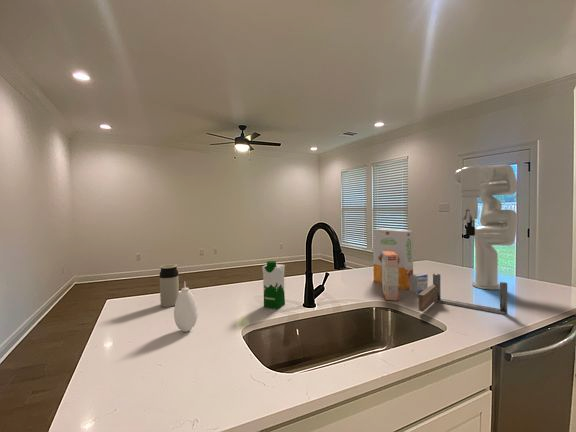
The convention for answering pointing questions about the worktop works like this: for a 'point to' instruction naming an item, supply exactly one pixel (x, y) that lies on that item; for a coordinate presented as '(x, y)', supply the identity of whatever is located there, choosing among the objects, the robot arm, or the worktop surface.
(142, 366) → the worktop surface
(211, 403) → the worktop surface
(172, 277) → the travel mug
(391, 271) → the cracker box
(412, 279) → the medicine box
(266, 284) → the milk carton
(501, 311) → the gate frame
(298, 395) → the worktop surface
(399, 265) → the cereal box
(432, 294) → the gate
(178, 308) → the white air blower bulb
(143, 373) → the worktop surface
